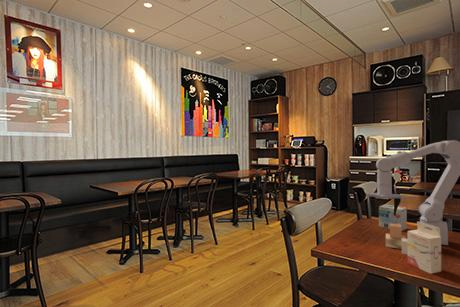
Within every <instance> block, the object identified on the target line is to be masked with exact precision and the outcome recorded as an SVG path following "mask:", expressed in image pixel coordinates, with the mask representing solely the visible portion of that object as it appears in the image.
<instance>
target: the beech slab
mask: <svg viewBox="0 0 460 307" xmlns="http://www.w3.org/2000/svg"><path fill="white" fill-rule="evenodd" d="M402 238H405V239H407V238H406V235H402V234H401V239H396V238H390V233H385V247H386V248H393V249H399V250H402Z"/></svg>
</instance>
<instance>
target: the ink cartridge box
mask: <svg viewBox="0 0 460 307" xmlns="http://www.w3.org/2000/svg"><path fill="white" fill-rule="evenodd" d="M416 225H417V229H412V230H407V239H408V255H407V264H409V265H411V266H413V267H415V268H418V269H419V270H421V271H423V272H426V273H428V274H436V273H440V272H442V244H441V236H440V228H439V227H435V226H432V225H429V224H425V223H421V222H420V221H416ZM424 227H429V228H431V229H432V230H428V229H425V228H424Z"/></svg>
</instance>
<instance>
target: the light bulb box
mask: <svg viewBox="0 0 460 307" xmlns="http://www.w3.org/2000/svg"><path fill="white" fill-rule="evenodd" d="M407 212H408V211H407V207H406V206H400V205H399V206H398V208H397V211H396V216H394V205H391V204H387V203H385V204H381V205H380V206H378V226H380V227H381V228H385V229H388V230H390V223H392V224H401V232H402V231H405V230H407V229H408V226H407V225H408V224H407V223H408V222H407Z"/></svg>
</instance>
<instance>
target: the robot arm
mask: <svg viewBox="0 0 460 307" xmlns="http://www.w3.org/2000/svg"><path fill="white" fill-rule="evenodd" d="M429 154H440V155H441V156H442V158H444V160H445V162H446V163H447V166H446V168H445V169H444V171H443V172H442V175H441V176H440V178H439V180H438V181H437V183H436V185H435V187H434V189H433V191H432V193H430V196H429V197H428V198H426V199H425V201H424V202H423V203H421V204H420V205H419V206H418V213H419V214H420V215H421V216H420V217H419V222H421V223H425V224H429V225H432V226H435V227H439V228H440V236H441V245H444V246H449V230H448V229H449V227H448V223H447V221H442V219H443V217H444V216H443V215H444V214H443V211H444V210H445V202H446V200H447V198H448V196H449V195H450V193H451V191H452V189H453V188H454V186H455V184H456V183H457V181H458V179H459V177H460V141H458V140H456V139H452V140H442V141H438V142H433V143H429V144H427V145H424V146H422V147H419V148H416V149H414V150H412V151H409V152H407V151H405V150H403V151H401V150H398V151H397V152H396V153H394V154H391V155H386V156H385V158H384V157H382V158H379V159H377V161H376V163H375V167H376V173H377V175H376V183H377V185H376V189H377V192H366V198H368V200H369V202H370V204H371V206H372V210H373V213H374V215H375V214H377V205H376V200H377V199H389V200H393V206H394V216H396V211H397V208H398V206H399V207H400V204H401V201H403V200H404V194H397V193H396V194H395V193H393V191H392V189H393V187H392V186H393V185H392V181H393V180H392V170H393V169H396V168H398V167H401V166H405V165H407V164H410V163H411V161H412V159H416V158H420V157H423V156H426V155H429ZM424 228H425V229H428V230H432V229H431V228H429V227H424Z"/></svg>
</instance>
